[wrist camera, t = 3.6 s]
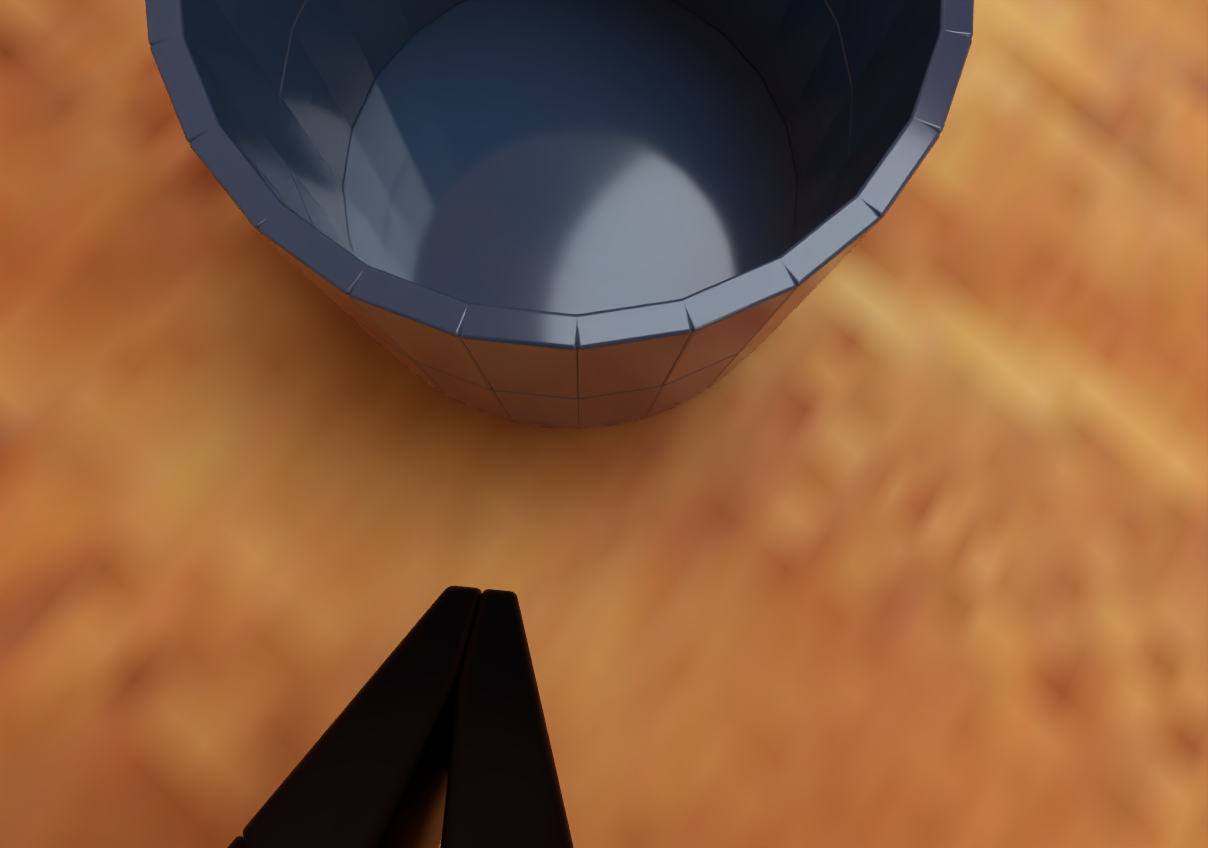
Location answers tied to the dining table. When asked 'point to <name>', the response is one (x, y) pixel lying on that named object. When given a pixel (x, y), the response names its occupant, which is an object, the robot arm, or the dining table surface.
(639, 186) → the bowl
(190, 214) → the dining table surface
